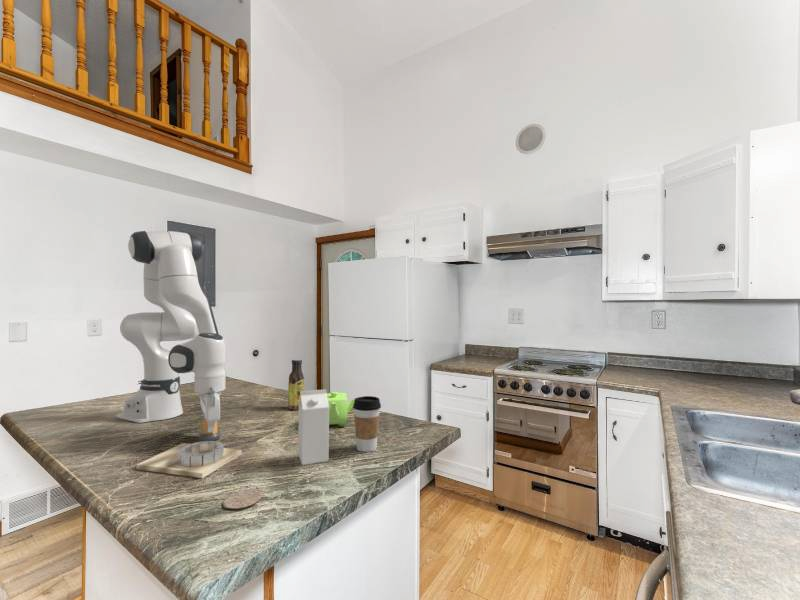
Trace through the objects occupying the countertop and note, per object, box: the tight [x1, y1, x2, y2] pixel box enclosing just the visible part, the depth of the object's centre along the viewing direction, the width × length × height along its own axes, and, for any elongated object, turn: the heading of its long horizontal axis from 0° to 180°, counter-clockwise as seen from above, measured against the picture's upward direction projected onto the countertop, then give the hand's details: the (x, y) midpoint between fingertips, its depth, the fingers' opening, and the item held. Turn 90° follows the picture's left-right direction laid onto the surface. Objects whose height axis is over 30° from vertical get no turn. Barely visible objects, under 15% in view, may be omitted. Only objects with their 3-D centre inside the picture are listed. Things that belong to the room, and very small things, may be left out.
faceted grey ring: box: [177, 440, 225, 467], centre depth 101 cm, size 11×11×3 cm
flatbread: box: [222, 488, 263, 510], centre depth 82 cm, size 8×8×1 cm
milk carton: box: [297, 389, 330, 466], centre depth 104 cm, size 7×7×19 cm
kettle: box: [327, 391, 355, 428], centre depth 134 cm, size 15×14×11 cm
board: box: [136, 442, 242, 479], centre depth 102 cm, size 20×15×1 cm
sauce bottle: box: [287, 358, 305, 411], centre depth 153 cm, size 7×6×20 cm
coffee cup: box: [352, 395, 382, 453], centre depth 112 cm, size 8×8×15 cm
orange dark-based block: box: [198, 418, 221, 442], centre depth 118 cm, size 6×6×6 cm
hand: (209, 428), depth 118 cm, fingers closed on orange dark-based block, 4 cm apart
